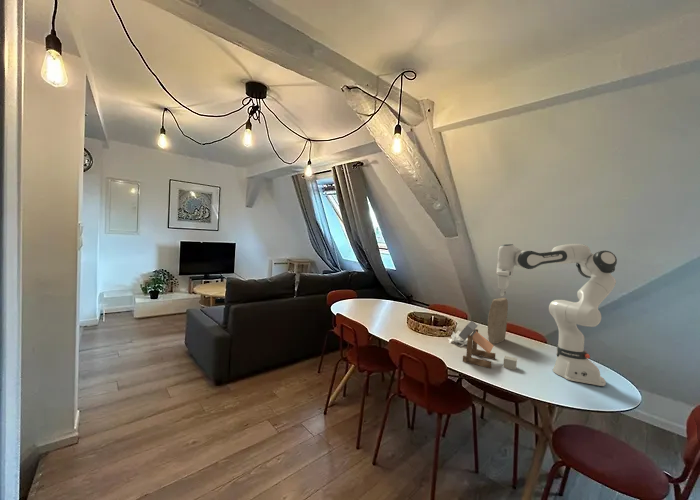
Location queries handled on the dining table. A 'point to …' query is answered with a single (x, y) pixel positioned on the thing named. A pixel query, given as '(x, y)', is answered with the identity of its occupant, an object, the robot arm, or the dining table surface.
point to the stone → (510, 363)
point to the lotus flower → (458, 338)
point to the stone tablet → (497, 320)
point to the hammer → (476, 337)
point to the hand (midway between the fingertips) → (503, 295)
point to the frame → (473, 350)
